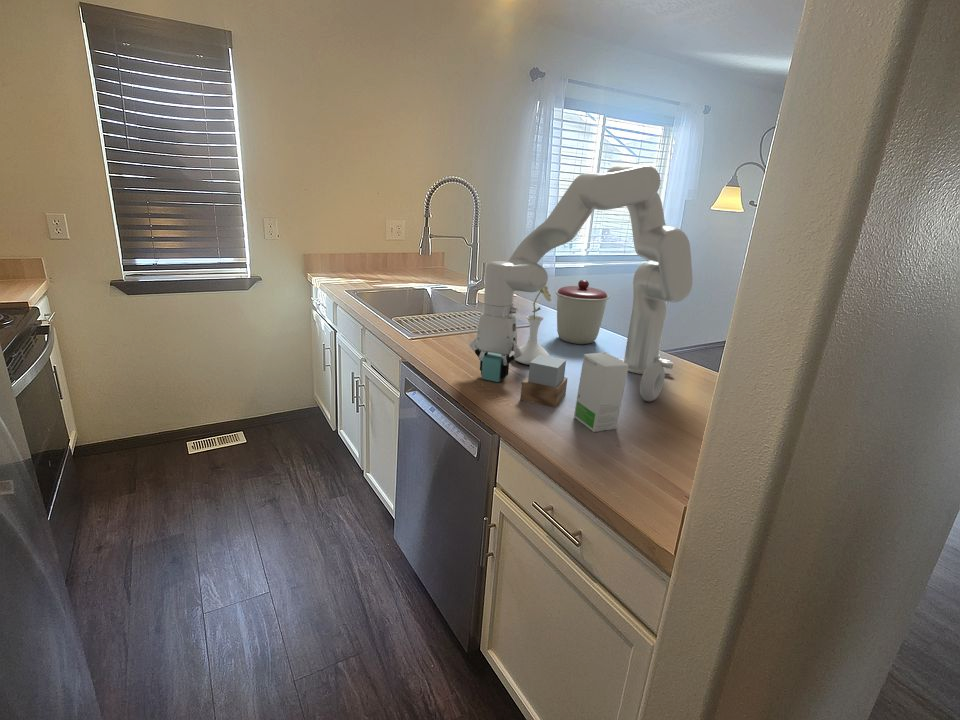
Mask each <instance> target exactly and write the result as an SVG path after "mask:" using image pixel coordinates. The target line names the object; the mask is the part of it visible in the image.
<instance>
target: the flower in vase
mask: <svg viewBox="0 0 960 720" xmlns="http://www.w3.org/2000/svg"><path fill="white" fill-rule="evenodd" d="M548 289H549V288H548V286H547V285H545V287H544V288H543V289H541V290H540V291H538V292H537V293H538V294H537V295H536V297H535V298H534V302H533V301H532V305H533V311H532V313H533V314H529V315H526V319H527V321H528V323H529V337H528V340H527V341H526V342H525V343H523V345H521V346H518V347H519V349H520V351H521V352H522V355H521V356H520V357H518V358H516V359H514V361H516V362H518V363H521V364H524V365H529V366H530V362H531V361H532V360H533V359H535V358H536V357H537V356H538V355H543V356H549V357H551V356H550V354H549V352H548V351H547V350H546V349H545V348H544V347H542V346H541V345H540V344H539V342H538V333H539V332H538V331H539V327H540V325H541V322H542V321H543V320H544V317H543V316H541V315H536V312H538V311H540V310H542V309H541V307H540V306H539V307H538V308H537V307H536V301H537V299H538V298H539V296H540V294H542V295H543V297H544V298H545V299H546V301H547V302H548V303H550V302H551V301H552V298H551V297H552V295H551V294H550V292H549V290H548ZM512 355H514V351H512ZM512 355H511V356H512Z"/></svg>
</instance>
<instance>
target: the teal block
mask: <svg viewBox="0 0 960 720" xmlns="http://www.w3.org/2000/svg"><path fill="white" fill-rule="evenodd" d="M501 365H503V361H502V356H501V354H497V353H492V352H488V354H487V355H486V356H484V357H483V359H482V375H481V377H480V379H482V380H486V381H490V382H495V383H500V382H501V381H502V380H503V379H500V375H501Z"/></svg>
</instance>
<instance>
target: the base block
mask: <svg viewBox="0 0 960 720" xmlns="http://www.w3.org/2000/svg"><path fill="white" fill-rule="evenodd" d="M528 377H529V375H528V376H526V377H525V379H524V380H522V381H521V389H520V401H524V402H529V403H531V404H537V405H542V406H546V407H551V408H554V409H556V408H557V406H558V405H559V404H560V403H561V401H562V400H564V398H566V394H567V385H568V377H565V376H564V379H563V380H562V381H561V383H560V384H559V385H558V386H557V387H556V388H555V387H550V386H546V385H541V384H537V383H532V382H528Z"/></svg>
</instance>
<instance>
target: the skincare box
mask: <svg viewBox="0 0 960 720" xmlns="http://www.w3.org/2000/svg"><path fill="white" fill-rule="evenodd" d="M581 365H582V366H581V371H580V376H579V377H580V378H579V384H578V389H577V396H576V400H575V407H574V414H573V417H574V419H576V420H577V421H578V422H580V423H581V424H582V425H584V426H585V427H587V428H588V429H589V430H592V432H593V433H598V432H605V431H604V430H606V431H610V430H611V429H612V430H616V429H617V426H618V422H619V416H620V411H621V407H622V406H621V405H622V400H623V397H624V392H625V386H626V382H627V377H628V372H629V371H628V367H629V365H628V364H626V363H624V362H622V361H621V360H620V358H619V357H616V356H614V355H612V354H610V353H608V352H606V351H605V352H593V353H584V354H583V360H582V364H581Z"/></svg>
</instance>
